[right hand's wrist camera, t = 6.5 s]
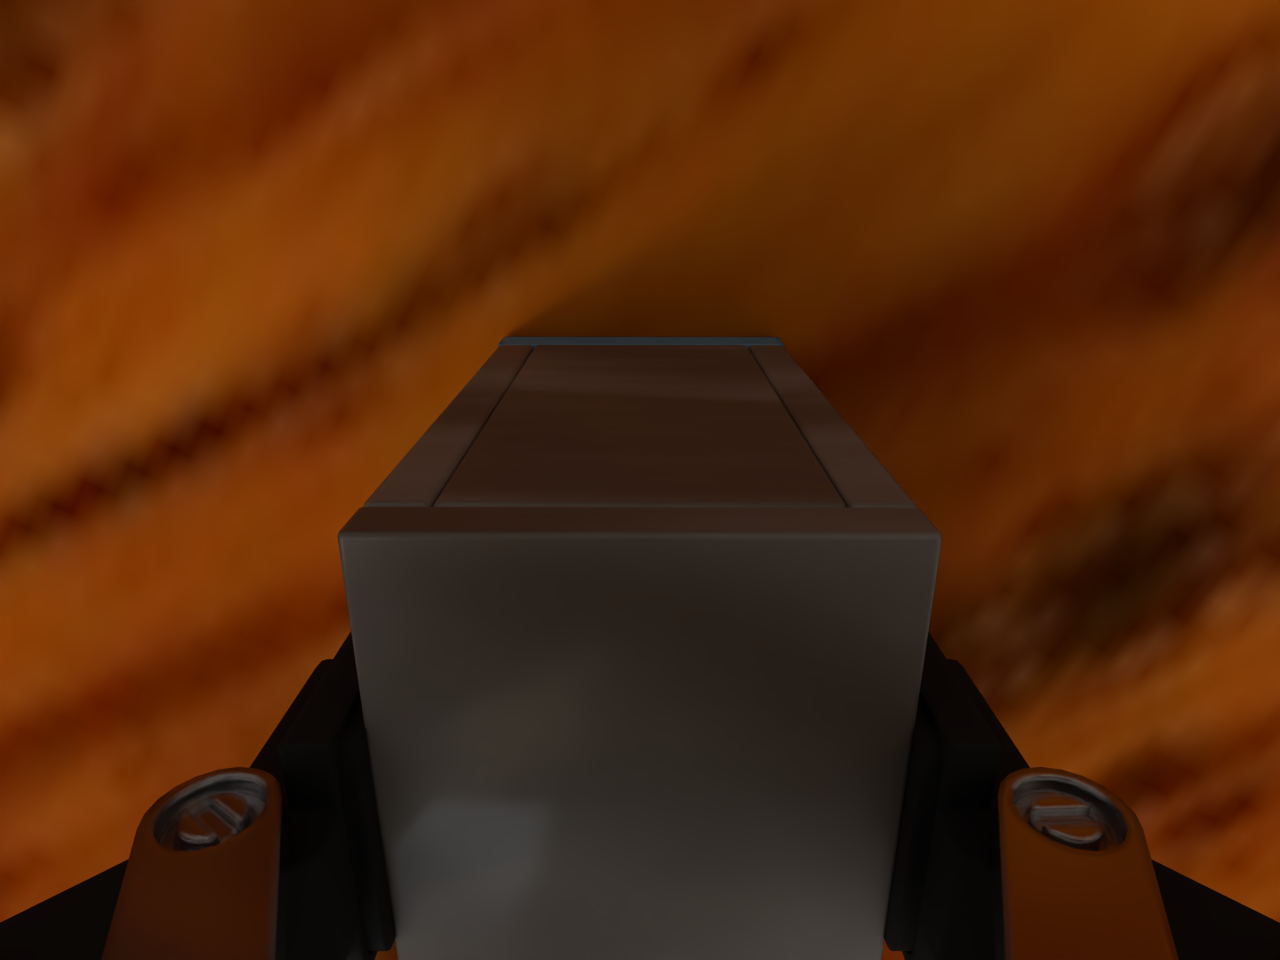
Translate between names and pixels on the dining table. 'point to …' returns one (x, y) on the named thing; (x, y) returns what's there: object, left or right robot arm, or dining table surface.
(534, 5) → the dining table surface
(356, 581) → the cabinet
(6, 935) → the right robot arm
